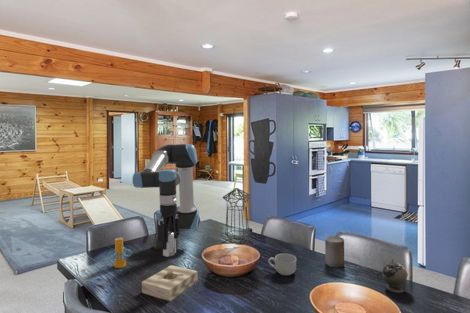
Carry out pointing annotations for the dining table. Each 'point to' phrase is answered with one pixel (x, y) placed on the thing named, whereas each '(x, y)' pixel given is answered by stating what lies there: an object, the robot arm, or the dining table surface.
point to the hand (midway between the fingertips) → (169, 253)
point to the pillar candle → (334, 251)
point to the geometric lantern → (234, 213)
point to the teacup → (284, 264)
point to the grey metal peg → (171, 243)
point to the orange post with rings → (119, 254)
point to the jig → (169, 282)
